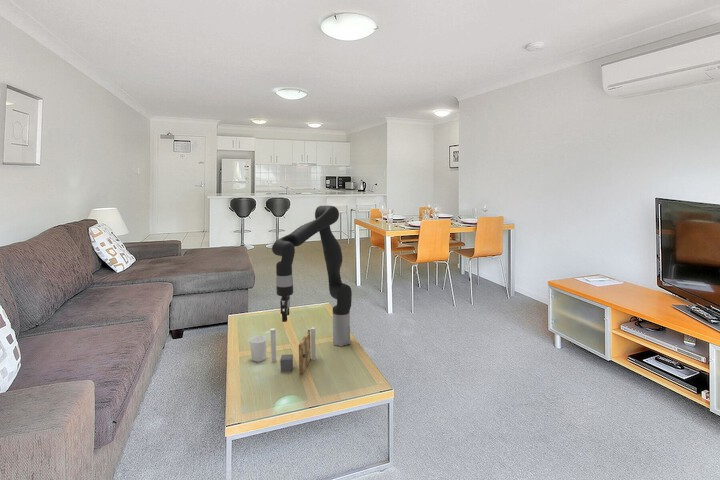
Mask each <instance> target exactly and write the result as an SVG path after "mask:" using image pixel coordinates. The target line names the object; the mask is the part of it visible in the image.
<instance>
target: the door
mask: <svg viewBox="0 0 720 480" xmlns="http://www.w3.org/2000/svg"><path fill="white" fill-rule="evenodd" d="M310 361H311V329H307V332H306V334H305V335H304V336H303V338H302V339H301V341H300V342H299V343H298V367H299V368H298V373H299V375H303V374H304V372H305V370H306V368H307V367H308V365H309V363H310Z"/></svg>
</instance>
